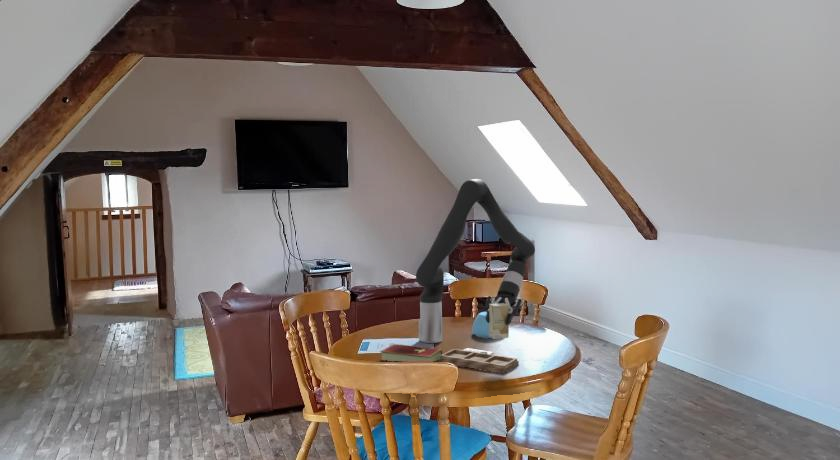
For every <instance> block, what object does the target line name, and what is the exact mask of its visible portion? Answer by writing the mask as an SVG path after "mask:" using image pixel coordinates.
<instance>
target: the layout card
mask: <svg viewBox="0 0 840 460" xmlns="http://www.w3.org/2000/svg"><path fill="white" fill-rule="evenodd" d="M463 350H465V351H472V352H478V353H485V354H491V355H493V354H494V351H488V350H482V349H475V348H471V347H466V348H464V349H463ZM492 353H493V354H492Z"/></svg>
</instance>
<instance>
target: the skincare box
mask: <svg viewBox="0 0 840 460" xmlns="http://www.w3.org/2000/svg"><path fill="white" fill-rule="evenodd" d="M508 314H509V305H507V304H505V303H497V304H489V336H490V337H491V338H492V339H493V340H495V339H496V340H497V339H509V337H510V335H509V331H510V329H509V328H510V324H509V325H506V324H505V320H506V317H507V315H508Z"/></svg>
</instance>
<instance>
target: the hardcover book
mask: <svg viewBox="0 0 840 460" xmlns="http://www.w3.org/2000/svg"><path fill="white" fill-rule="evenodd" d="M380 353H381V361H386V360H387V362H394V361H435V362H437V361H439V359H440V355H442V354H443V348H433V347H425V346H417V345H416V346H415V345H406V344H405V345H404V344H396V343H393V344H391V345H389V346H388V347H386V348H383V349H382V350H380Z"/></svg>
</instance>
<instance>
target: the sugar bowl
mask: <svg viewBox="0 0 840 460" xmlns="http://www.w3.org/2000/svg"><path fill="white" fill-rule="evenodd" d="M486 315H487V312H486V311H482V312H480V313H478V315H477V316H476V318H475V319H474V321H473V324H472V329H471V331H472V333H473V334H474V336H475V335H476V336H475V337H477V338H480V337H481V338H480V339H488V338H491V337H490V336H489V323H487V321H486Z"/></svg>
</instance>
